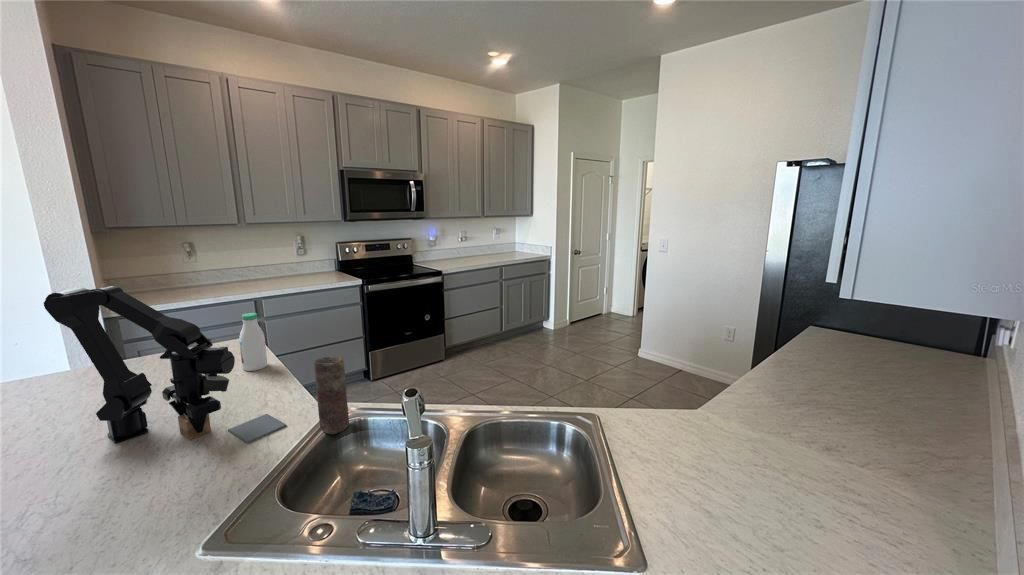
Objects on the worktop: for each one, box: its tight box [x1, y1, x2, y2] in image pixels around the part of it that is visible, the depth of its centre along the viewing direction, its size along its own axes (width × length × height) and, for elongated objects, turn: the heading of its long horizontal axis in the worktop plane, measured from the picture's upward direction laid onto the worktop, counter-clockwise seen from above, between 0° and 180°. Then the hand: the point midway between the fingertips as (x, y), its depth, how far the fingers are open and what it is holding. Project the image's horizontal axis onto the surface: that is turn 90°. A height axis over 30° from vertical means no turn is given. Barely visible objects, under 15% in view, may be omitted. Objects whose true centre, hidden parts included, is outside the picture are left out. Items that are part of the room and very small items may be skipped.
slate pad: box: [227, 413, 287, 445], centre depth 110 cm, size 10×10×1 cm
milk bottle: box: [238, 312, 268, 372], centre depth 146 cm, size 8×8×20 cm
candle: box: [313, 356, 350, 435], centre depth 109 cm, size 8×7×20 cm
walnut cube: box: [177, 413, 212, 441], centre depth 107 cm, size 5×5×5 cm
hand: (195, 428), depth 107 cm, fingers closed on walnut cube, 5 cm apart
